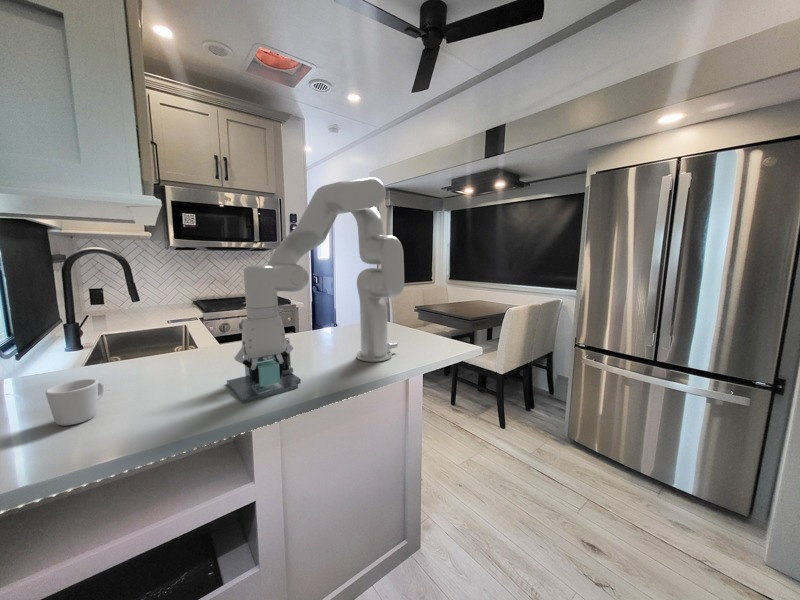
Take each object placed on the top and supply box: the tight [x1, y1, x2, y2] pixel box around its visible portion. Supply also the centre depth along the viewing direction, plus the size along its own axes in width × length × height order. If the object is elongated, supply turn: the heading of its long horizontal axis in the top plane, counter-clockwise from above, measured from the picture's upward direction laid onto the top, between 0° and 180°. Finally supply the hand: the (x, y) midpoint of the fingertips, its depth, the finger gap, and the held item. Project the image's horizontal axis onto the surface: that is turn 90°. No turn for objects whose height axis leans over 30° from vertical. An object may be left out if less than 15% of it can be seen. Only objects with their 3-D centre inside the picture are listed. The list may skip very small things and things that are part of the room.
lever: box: [282, 337, 294, 375], centre depth 94 cm, size 3×3×10 cm
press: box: [226, 318, 302, 404], centre depth 87 cm, size 16×16×18 cm
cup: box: [45, 378, 104, 427], centre depth 71 cm, size 11×8×8 cm
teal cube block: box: [256, 359, 280, 387], centre depth 84 cm, size 5×5×5 cm
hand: (267, 379), depth 84 cm, fingers closed on teal cube block, 5 cm apart
